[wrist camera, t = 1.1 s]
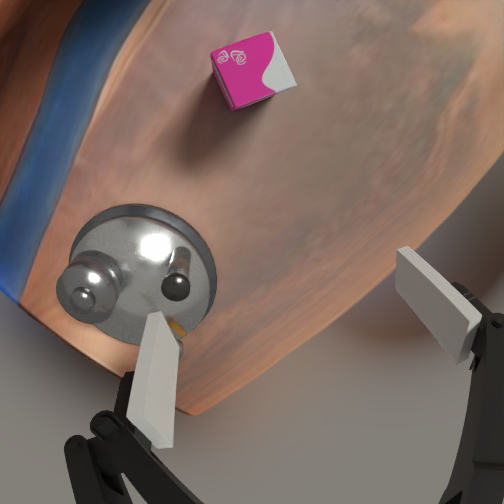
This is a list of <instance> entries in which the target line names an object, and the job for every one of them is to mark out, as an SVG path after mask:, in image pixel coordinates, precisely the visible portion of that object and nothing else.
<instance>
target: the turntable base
mask: <svg viewBox="0 0 504 504" xmlns="http://www.w3.org/2000/svg"><path fill="white" fill-rule="evenodd" d="M128 214H135V215H145V216H150V217H153V218H157V219H160V220H162V221H164V222H167V223H169V224H170V225H172V226H174V227H176V228H177V229H178V230H180V231H181V232H182V233H184V234H185V235H186V236H187V237H188V238H189V239H190V240H191V241H192V242H193V243H194V245H195V246H196V247H197V248H198V250H199V251H200V253H201V255H202V256H203V259H204V261H205V263H206V266H207V270H208V273H209V281H210V291H209V302H208V307H207V310H206V312H205V315H204V316H203V318H202V320H203V319H204V317H205V316H206V315H207V313H208V312H209V310H210V308H211V306H212V304H213V301H214V299H215V294H216V289H217V275H216V267H215V263H214V259H213V256H212V254H211V251H210V249H209V248H208V246H207V244H206V242H205V241H204V239H203V238H202V237H201V236H200V234H199V233H198V232H197V231H196V230H195V229H194V228H193V227H192V226H191V225H190V224H189V223H187V222H186V221H185V220H183V219H182V218H180V217H179V216H177V215H175V214H174V213H172V212H169V211H167V210H165V209H162V208H159V207H155V206H152V205H145V204H124V205H118V206H115V207H111V208H109V209H106V210H104V211H102V212H100V213H99V214H97V215H96V216H94V217H93V218H92V219H91V220H90V221H88V222H87V223H86V224H85V225H84V227H83V228H82V229H81V230H80V232H79V233H78V235H77V236H76V238H75V240H74V243H73V245H72V248H71V252H70V258H69V264H70V262H71V258H72V255H73V252H74V250H75V248H76V247H77V245H78V243H79V242H80V241H81V240H82V239H83V237H84V236H85V235H86V234H87V233H88V232H89V231H90V230H91V229H92V228H93V227H94V226H96V225H97V224H99V223H101V222H102V221H104V220H107V219H109V218H112V217H116V216H119V215H128ZM202 320H201V321H202ZM201 321H200V322H201Z"/></svg>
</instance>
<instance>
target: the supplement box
mask: <svg viewBox="0 0 504 504" xmlns="http://www.w3.org/2000/svg"><path fill="white" fill-rule="evenodd" d="M211 61H212V67H213V73H214V75H215V77H216V79H217V82H218V84H219V86H220V88H221V91H222V93H223V95H224V97H225V100H226V102H227V104H228V106H229V108H230V110H231V111H235V110H238V109H240V108H243V107H246V106H248V105H251V104H254V103H256V102H259V101H261V100H264V99H266V98H269V97H271V96H274V95H275V94H278V93H281V92H283V91H286V90H289V89H291V88H294V87H296V86H297V84H296V82H295V80H294V77H293V75H292V73H291V71H290V69H289V66H288V64H287V62H286V60H285V58H284V56H283V54H282V52H281V49H280V47H279V45H278V43H277V41H276V39H275V37H274V35H273V33H272V31H270V32H266V33H263V34H260V35H257V36H254V37H251V38H248V39H245V40H242V41H239V42H237V43H234V44H231V45H228V46H226V47H223V48H221V49H218V50H216V51H213V52H211Z"/></svg>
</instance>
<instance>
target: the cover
mask: <svg viewBox="0 0 504 504" xmlns="http://www.w3.org/2000/svg"><path fill="white" fill-rule="evenodd" d="M123 281H124V280H123V275H122V272H121V269H120V268H119V266H118V265H117V263H116V262H115V261H114V260H113V259H112V258H111V257H109V256H108V255H106V254H105V253H102V252H100V251H96V250H86V251H83V252H81V253H79V254H78V255H76V256H75V258H74V259H73V260H72V261H71V263H70V264H69V265H68V267H67V268H66V269H65V270H64V272H63V273H62V274H61V276H60V277H59V279H58V281H57V285H56V293H57V297H58V300H59V302H60V304H61V305H62V307H63V308H64V310H65V311H66V312H67V313H68V314H69V315H71V316H72V317H73V318H75V319H77V320H79V321H81V322H84V323H89V324H97V323H101V322H104V321H106V320H107V319H108V318H109V317H110V316H111V314H112V312H113V310H114V308H115V305H116V303H117V300H118V298H119V296H120V293H121V291H122V288H123Z"/></svg>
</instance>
